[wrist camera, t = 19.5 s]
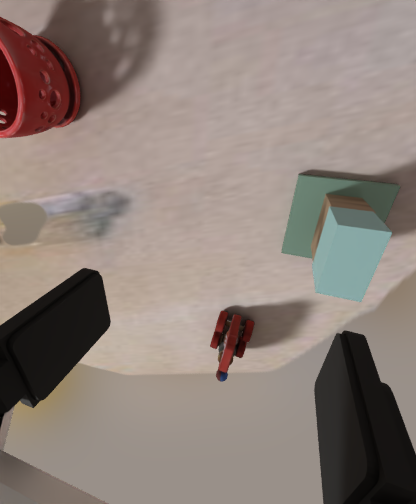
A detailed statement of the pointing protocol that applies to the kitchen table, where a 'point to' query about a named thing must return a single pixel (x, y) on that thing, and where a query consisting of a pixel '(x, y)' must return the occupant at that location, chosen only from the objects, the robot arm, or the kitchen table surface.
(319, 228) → the walnut brick
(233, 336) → the toy fire truck
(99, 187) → the kitchen table surface
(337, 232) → the teal brick
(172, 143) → the kitchen table surface
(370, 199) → the board
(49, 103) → the plant pot
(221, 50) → the kitchen table surface
